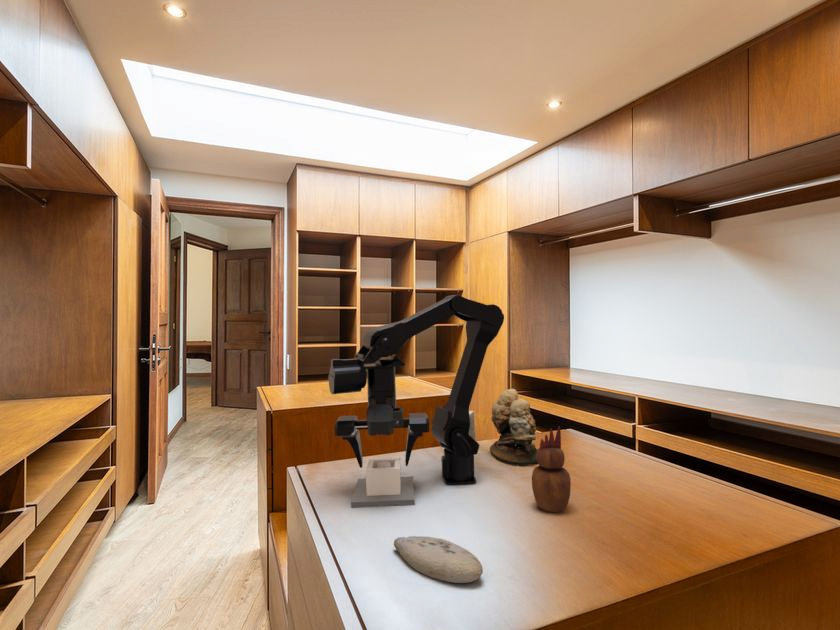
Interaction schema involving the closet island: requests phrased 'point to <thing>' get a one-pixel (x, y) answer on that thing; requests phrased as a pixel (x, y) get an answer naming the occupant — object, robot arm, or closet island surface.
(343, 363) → the robot arm
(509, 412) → the owl figurine
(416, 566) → the decorative stone
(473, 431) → the skincare box
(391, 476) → the collar
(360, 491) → the post stand
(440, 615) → the closet island surface
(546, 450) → the wooden figurine
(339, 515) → the closet island surface
